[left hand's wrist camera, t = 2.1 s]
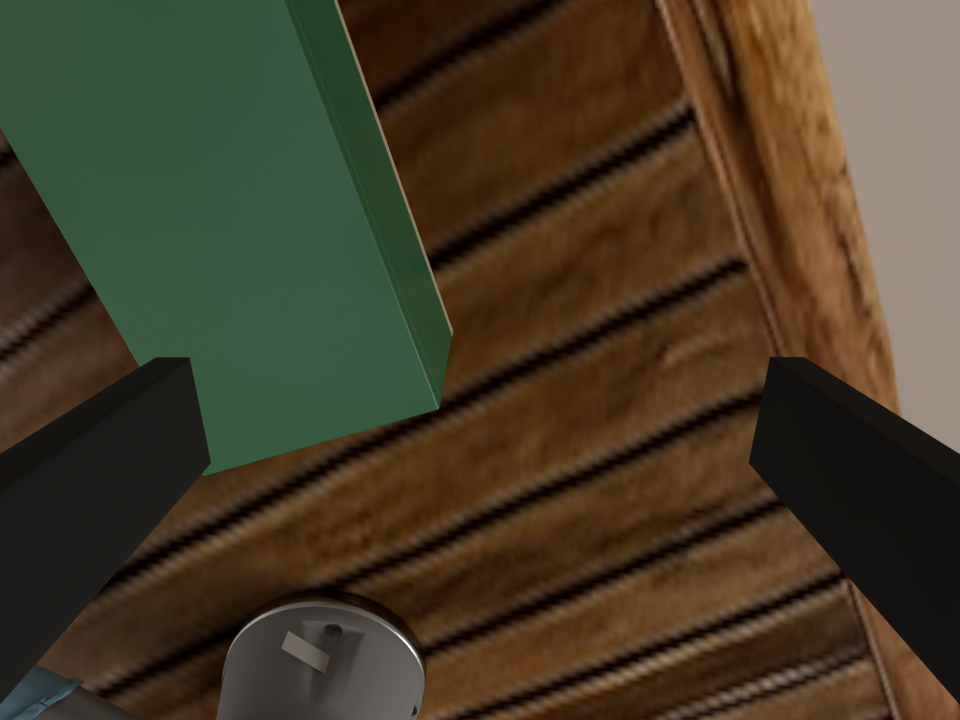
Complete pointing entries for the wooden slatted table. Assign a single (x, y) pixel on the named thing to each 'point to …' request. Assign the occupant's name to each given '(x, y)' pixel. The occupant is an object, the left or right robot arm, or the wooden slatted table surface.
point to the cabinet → (231, 207)
